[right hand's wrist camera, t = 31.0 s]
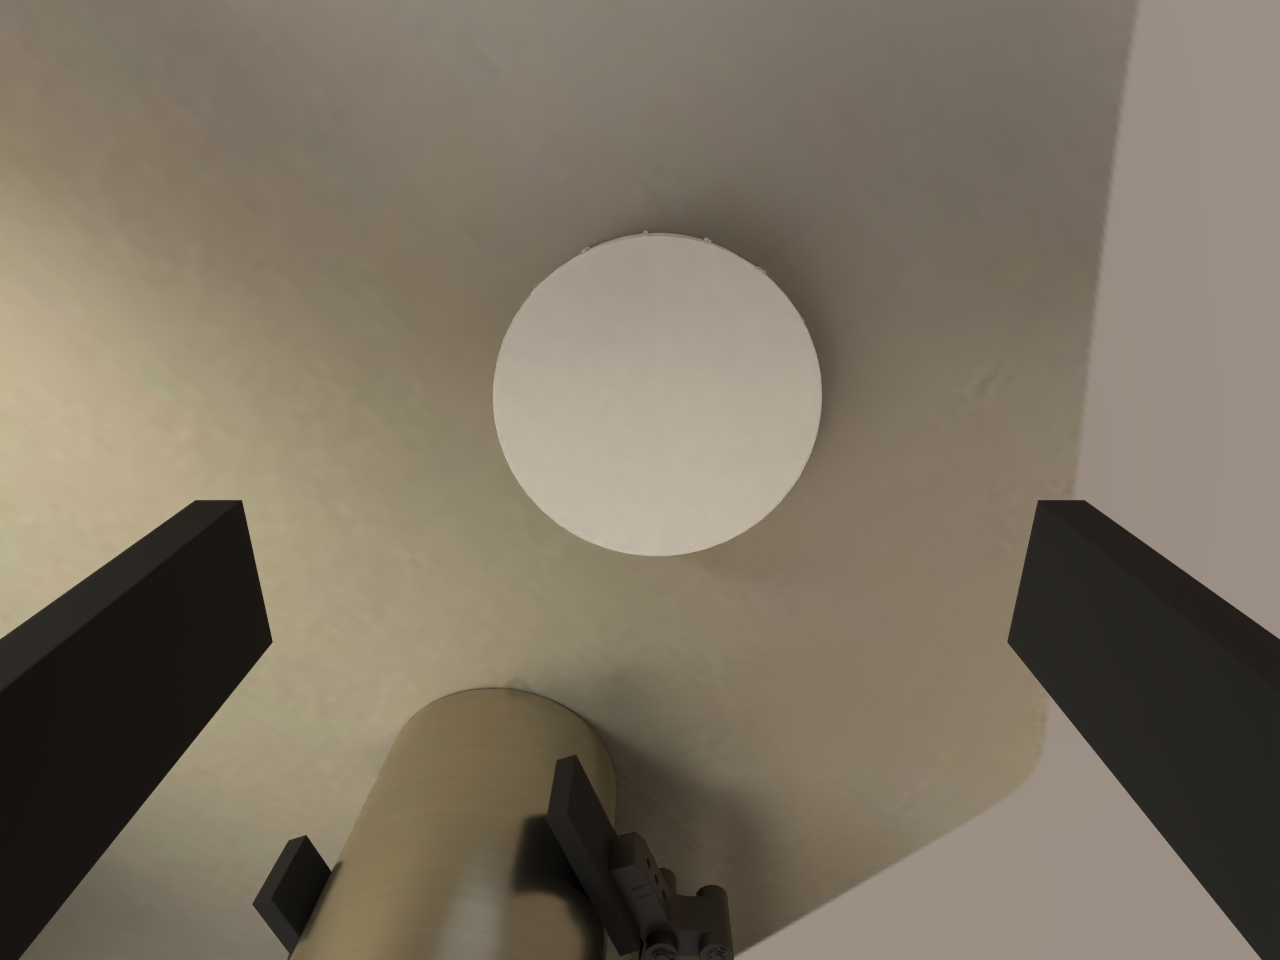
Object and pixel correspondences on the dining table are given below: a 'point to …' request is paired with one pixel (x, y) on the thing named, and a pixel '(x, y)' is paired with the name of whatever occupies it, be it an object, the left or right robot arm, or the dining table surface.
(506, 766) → the jar
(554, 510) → the lid
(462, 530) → the dining table surface
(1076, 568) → the right robot arm
